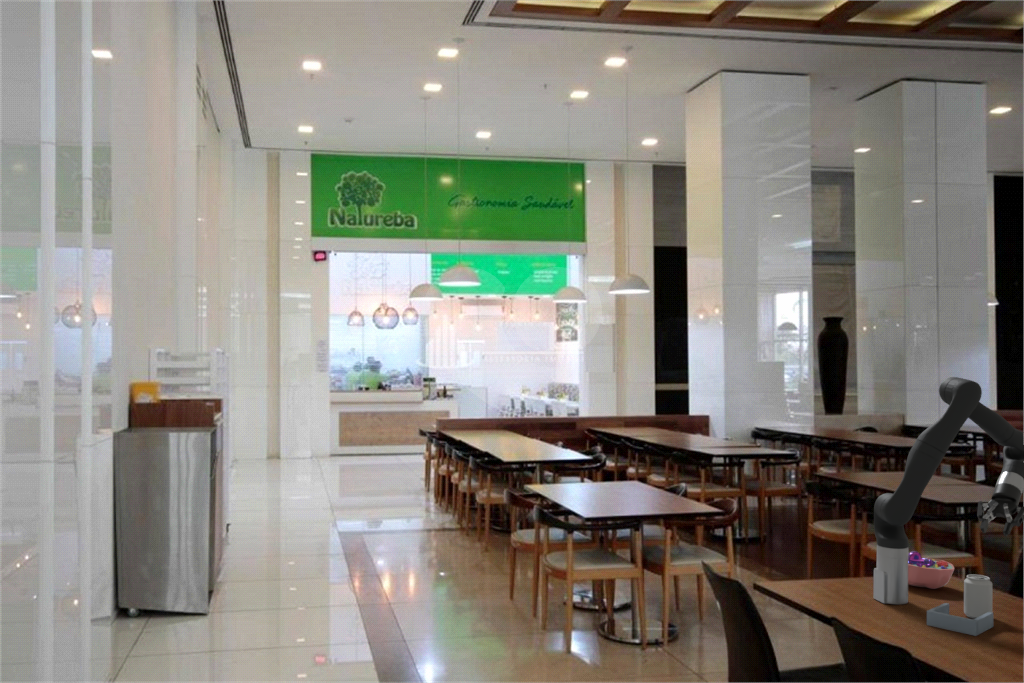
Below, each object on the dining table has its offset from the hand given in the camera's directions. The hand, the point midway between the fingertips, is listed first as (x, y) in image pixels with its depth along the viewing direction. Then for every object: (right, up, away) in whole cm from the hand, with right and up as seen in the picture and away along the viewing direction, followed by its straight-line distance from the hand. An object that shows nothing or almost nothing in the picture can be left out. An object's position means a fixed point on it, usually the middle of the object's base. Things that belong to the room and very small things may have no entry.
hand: (994, 532), depth 280 cm
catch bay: (-19, -23, -17) cm, 34 cm away
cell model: (-10, -24, +26) cm, 36 cm away
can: (-9, -23, -8) cm, 26 cm away
